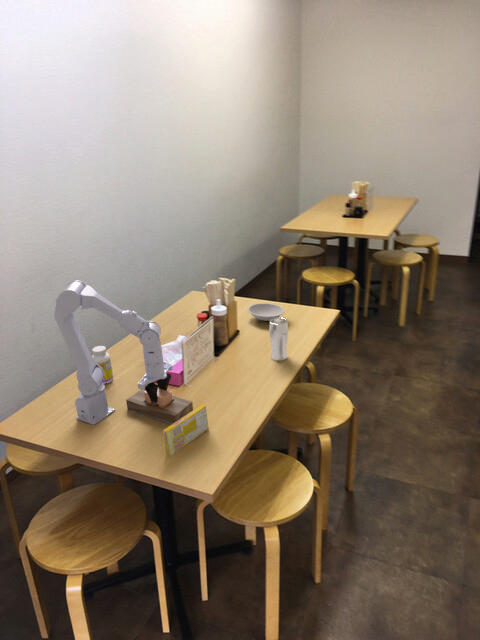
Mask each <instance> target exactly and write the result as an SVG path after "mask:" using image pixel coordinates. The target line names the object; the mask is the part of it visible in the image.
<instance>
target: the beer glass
mask: <svg viewBox="0 0 480 640" xmlns="http://www.w3.org/2000/svg"><path fill="white" fill-rule="evenodd" d="M268 330H269V331H268V332H269V339H270V343H271V344H270V345H271V350H272V351H271V357H270V358H271V359H272V360H274V361H275V362H281V361H285V360H287V359H288V352H287V345H288V338H289V324H288V319H286V318H284V317H278V318H273V319H271V320H270V321H269V329H268Z"/></svg>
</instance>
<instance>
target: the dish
mask: <svg viewBox="0 0 480 640" xmlns="http://www.w3.org/2000/svg"><path fill="white" fill-rule="evenodd" d="M247 312H248V313H249V314H250V315H251V316H253V318H255V319H257V320H259V321H264V322H268V321H269V322H270V320H271V319H273V318H280V317H281V316H282V315H284V313H285V309H284V307H283V306H281V305H279V304H275V303H269V302H268V303H267V302H259V303H254V304H250V305H249V306H248V307H247Z"/></svg>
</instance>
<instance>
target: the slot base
mask: <svg viewBox="0 0 480 640" xmlns="http://www.w3.org/2000/svg"><path fill="white" fill-rule="evenodd" d="M145 391H146V390H145V389H144V390H142V389H140V390H138V391H136V392H135V393H134V394H132V395H131V396H130V397H128V398H127V399H125V401H126V407H127V410H128V411H131V410H132V412H134V411H135V413H136V414H140V413H141V414H140V415H144V416H146V417H150V418H151V419H155V420H158V421H160V422H164V423H166V424H170V425H172V424H173V423H175V422H176V421H178V420H179V419H181V418H182V417H184V416H186V415H187V414H189V413H190V412H192V411H193V410H194V406H193V405H194V404H193V401H191V400H188V399H185V398H181V397H179V396H175V395H172V401H171V403H170V404H169V405H168V406H166V407H165V408H161V407H159V406H158V404H156V403H153V404H149V403H147V402H146V400H145V396H144V392H145Z"/></svg>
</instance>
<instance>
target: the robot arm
mask: <svg viewBox="0 0 480 640" xmlns="http://www.w3.org/2000/svg"><path fill="white" fill-rule="evenodd" d="M80 306H81V310H86V309H95V310H97V311H98V312H101V313H102V314H104V315H106V316H108V317H110V318H111V319H114V320H116V322H117V324H118V327H120V328H121V329H123V330H124V331H126V332H128V333H130V334H131V335H133V336H134V337H136V338H138V339H139V342H140V344H141V345H142V353H143V359H144V367H145V374H144V376H142V378H141V379H140V381H138V382H137V387H138V389H140V390H141V389H142V390H144V389H145V390H146V392H147V393H148V395H149V397H150V400H151V402H154V403H157V391H158V388H159V389H163V390H166V391H168V386H169V382H170V381H171V379H172V375H171V373H168V372H169V371H172V370H174V368H173V367H174V366H173V363H169V362H167V363H165V364H164V357H163V347H162V341H161V338H160V336H161V332H162V331H161V326H160V324H158V323H157V322H156V321H152V320H148V319H147V320H146V319H144V318H143V317H141V316H140V315H138V312H136V311H135V310H131V309H130V310H129V309H127V310H123V309H122V308H119V307H118V306H117V305H115V304H114V303H113V302H111V301H110V300H108V299H107V298H105V297H104V296H102V295H101V294H99V292H97V291H96V290H95V289H94V288H93V287H92V286H90V285H88V284H86V283H85V282H83V281H82V280H79V279H78V280H76V279H75V280H71V281H70V282H69V283H67V285H66V286H65V288H64V290H62V292H61V293H59V295H58V296H57V297H56V299H55V308H54V315H53V317H54V319H55V322H56V324H57V326H58V329H59V331H60V333H61V335H62V337H63V340H64V342H65V345H66V346H67V349H68V351H69V353H70V356H71V358H72V360H73V362H74V364H75V367H76V379H77V382H78V383H77V389H78V390H79V392H80V394H79V396H78V397H77V398H76V399H75V402H74V403H75V408H76V414H77V415H76V416H75V417H76V419H77V420H80V421H82V422H85V423H87V424H89V425H93V426H94V425H96V424H97V423H99V422H101V420H103V419H105V418H106V417H107V416H109V415H110V414H112V413H114V412H115V408H112V407H109V404H108V397H107V392H106V387H105V386H106V385H105V384H103V382H102V379H103V378H104V375H105V373H104V370H103V369H102V368H101V367H100V366H99V365H98V363H97V361H96V360H94V359H92V355H91V352H90V350H89V348H88V346H87V344H86V341H85V338H84V336H83V334H82V331H81V329H80V327H79V324H78V322H77V319H76V317H75V312H76V310H78V308H80ZM155 382H156V383H157V384H156V383H155Z"/></svg>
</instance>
